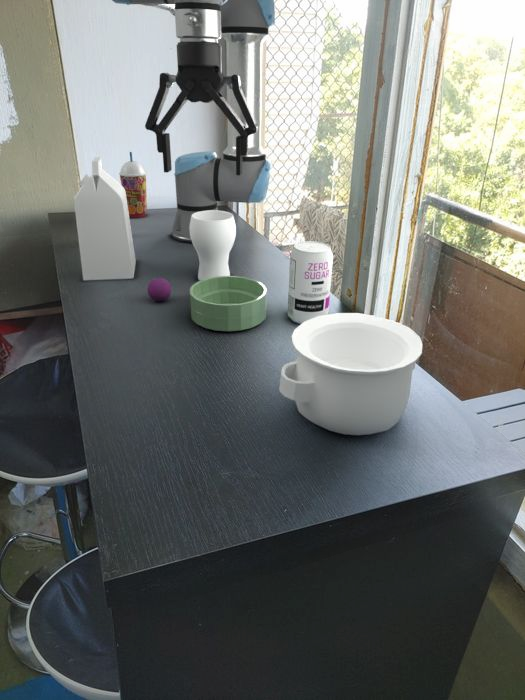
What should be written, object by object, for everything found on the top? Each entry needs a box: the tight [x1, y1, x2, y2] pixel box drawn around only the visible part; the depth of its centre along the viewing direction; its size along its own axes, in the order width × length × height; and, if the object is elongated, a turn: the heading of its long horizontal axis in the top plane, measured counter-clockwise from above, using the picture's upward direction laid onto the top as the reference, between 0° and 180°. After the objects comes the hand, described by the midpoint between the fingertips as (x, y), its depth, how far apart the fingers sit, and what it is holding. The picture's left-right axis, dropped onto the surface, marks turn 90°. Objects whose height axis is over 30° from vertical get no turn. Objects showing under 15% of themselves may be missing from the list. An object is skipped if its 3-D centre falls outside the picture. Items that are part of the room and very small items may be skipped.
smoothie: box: [119, 151, 148, 219], centre depth 169 cm, size 8×8×20 cm
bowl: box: [188, 275, 268, 332], centre depth 105 cm, size 15×15×6 cm
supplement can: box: [287, 240, 334, 325], centre depth 103 cm, size 8×8×15 cm
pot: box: [278, 312, 424, 436], centre depth 75 cm, size 22×17×12 cm
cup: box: [189, 210, 237, 281], centre depth 122 cm, size 11×11×15 cm
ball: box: [146, 277, 172, 302], centre depth 112 cm, size 5×5×5 cm
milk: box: [73, 156, 137, 281], centre depth 122 cm, size 12×12×26 cm
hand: (203, 172), depth 98 cm, fingers open, 13 cm apart
